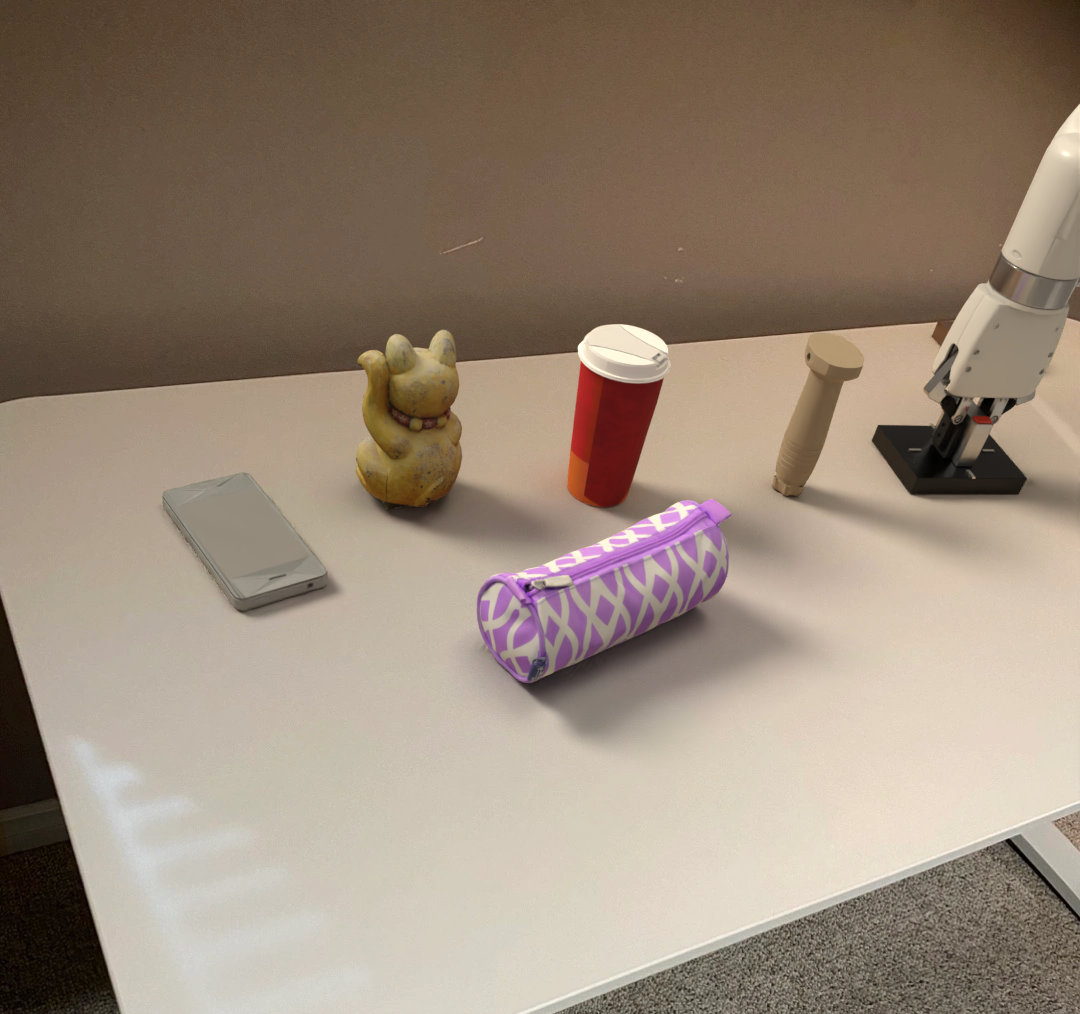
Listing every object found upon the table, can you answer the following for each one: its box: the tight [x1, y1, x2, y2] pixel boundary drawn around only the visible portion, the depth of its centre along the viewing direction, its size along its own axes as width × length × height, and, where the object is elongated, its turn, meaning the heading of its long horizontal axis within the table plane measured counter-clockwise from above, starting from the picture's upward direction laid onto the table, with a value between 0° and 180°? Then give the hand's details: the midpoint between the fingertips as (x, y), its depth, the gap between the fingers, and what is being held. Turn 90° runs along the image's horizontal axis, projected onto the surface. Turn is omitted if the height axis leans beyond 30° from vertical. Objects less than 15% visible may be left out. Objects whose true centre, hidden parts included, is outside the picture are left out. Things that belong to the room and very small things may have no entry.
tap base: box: [871, 423, 1028, 495], centre depth 116 cm, size 13×10×2 cm
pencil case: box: [476, 498, 733, 684], centre depth 87 cm, size 22×9×10 cm, turn 130°
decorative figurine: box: [355, 329, 463, 511], centre depth 94 cm, size 10×8×15 cm
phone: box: [161, 471, 328, 612], centre depth 91 cm, size 8×16×1 cm, turn 35°
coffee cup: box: [566, 323, 672, 508], centre depth 99 cm, size 8×8×15 cm
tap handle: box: [932, 398, 994, 467], centre depth 113 cm, size 6×2×5 cm, turn 12°
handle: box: [771, 332, 865, 497], centre depth 104 cm, size 5×6×15 cm
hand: (952, 449), depth 115 cm, fingers closed on tap handle, 2 cm apart
